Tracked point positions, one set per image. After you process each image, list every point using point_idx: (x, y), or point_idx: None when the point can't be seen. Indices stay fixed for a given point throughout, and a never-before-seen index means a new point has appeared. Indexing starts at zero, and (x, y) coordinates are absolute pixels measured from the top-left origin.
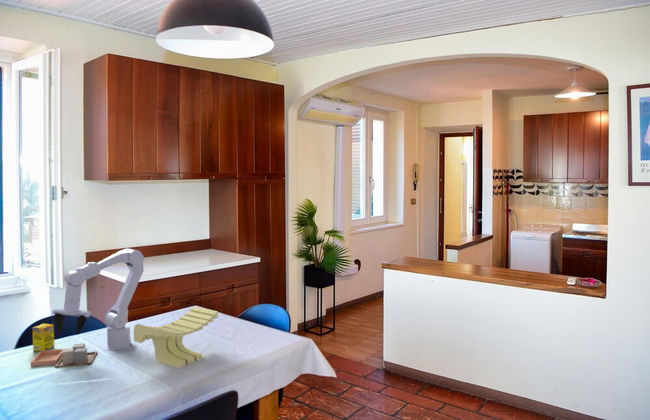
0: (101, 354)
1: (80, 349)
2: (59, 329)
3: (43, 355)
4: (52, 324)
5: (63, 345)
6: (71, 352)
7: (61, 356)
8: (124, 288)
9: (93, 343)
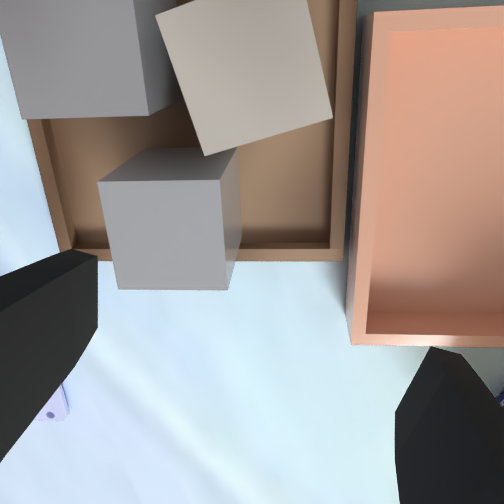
0: (38, 238)
1: (78, 61)
2: (450, 396)
3: None
4: None
5: (394, 482)
6: (182, 9)
7: (354, 216)
8: None
9: (192, 467)
